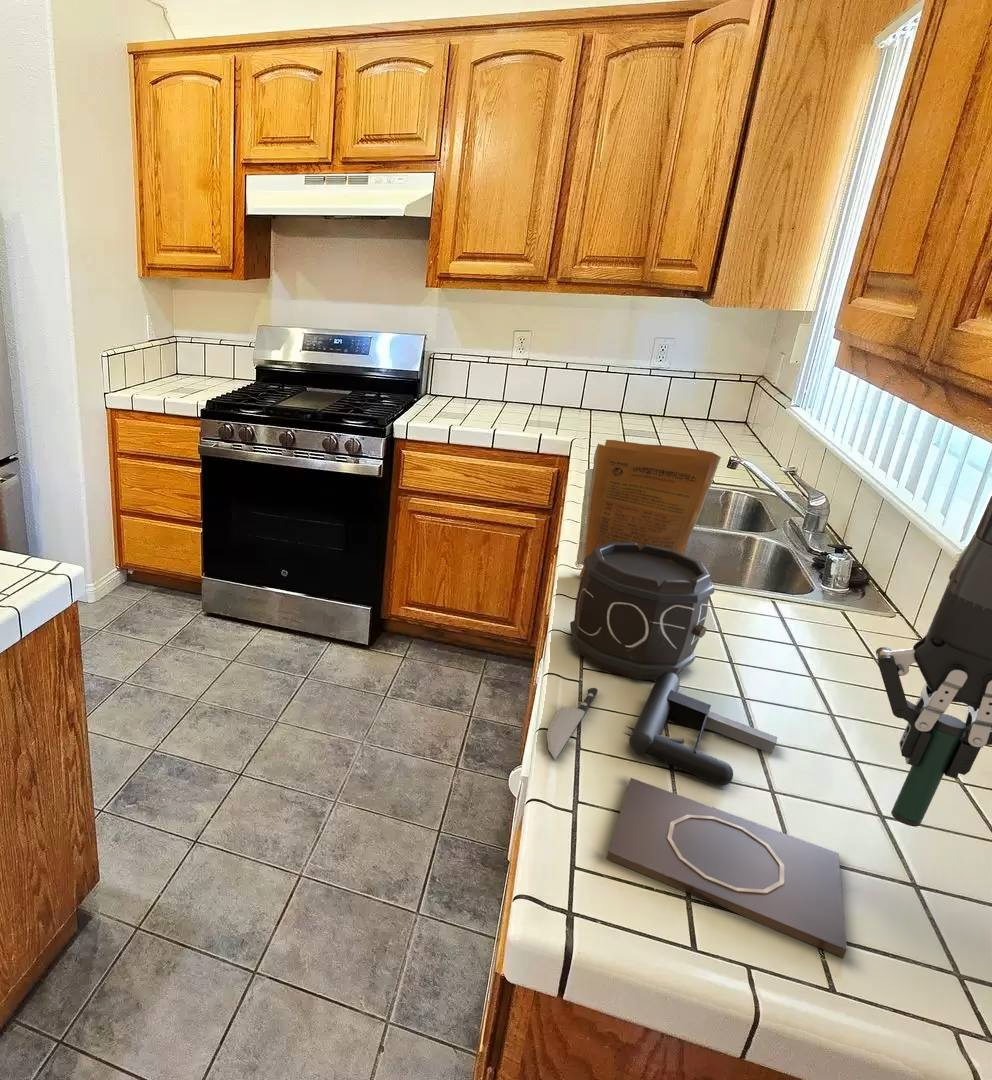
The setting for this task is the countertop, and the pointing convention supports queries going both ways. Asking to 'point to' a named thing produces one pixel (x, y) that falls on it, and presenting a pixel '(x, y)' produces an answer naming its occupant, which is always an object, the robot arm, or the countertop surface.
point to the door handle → (696, 716)
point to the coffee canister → (640, 609)
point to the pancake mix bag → (646, 494)
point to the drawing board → (732, 864)
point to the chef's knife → (567, 723)
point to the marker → (928, 771)
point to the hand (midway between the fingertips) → (929, 766)
